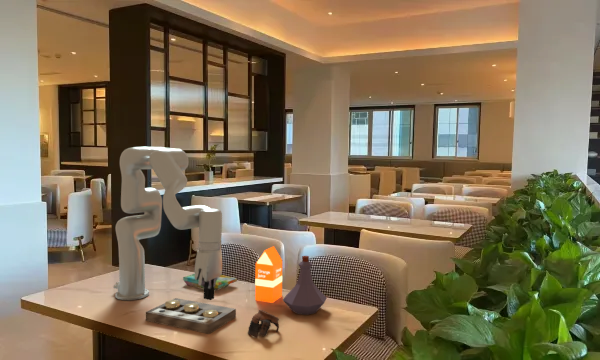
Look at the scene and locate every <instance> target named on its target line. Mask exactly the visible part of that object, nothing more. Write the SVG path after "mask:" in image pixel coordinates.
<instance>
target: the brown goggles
mask: <svg viewBox="0 0 600 360" xmlns="http://www.w3.org/2000/svg"><path fill="white" fill-rule="evenodd" d="M279 320H280V318H279V317H278V316H276V315H273V314H271V313H269V312H266V311H264V310H261V309H259V310H258V312H257V313H255V314H254V315H253V316H252V317H251V321H250V324H249V326H248V331H247V334H249V335H250V336H252V337H253V338H256V339H257V338H258V335H260V336H261V337H266V336H267V334H268V331H269V330H270V327H271V324H273V325H274V326H275V327H276V330H275V331H276V333H278V332H279V329H280V325H279Z"/></svg>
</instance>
